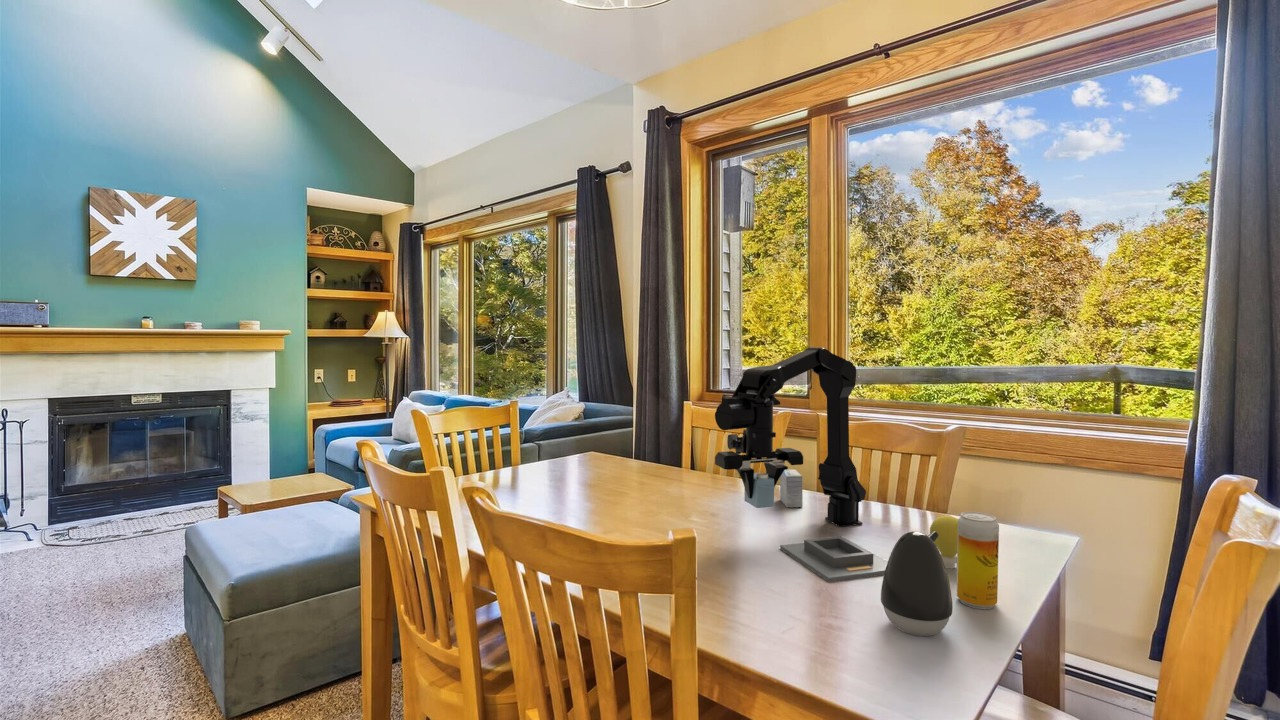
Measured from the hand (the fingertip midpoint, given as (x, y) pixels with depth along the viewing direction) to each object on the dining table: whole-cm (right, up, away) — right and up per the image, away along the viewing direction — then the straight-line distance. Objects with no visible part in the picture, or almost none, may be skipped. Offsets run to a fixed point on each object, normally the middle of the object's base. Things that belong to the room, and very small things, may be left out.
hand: (758, 497), depth 131 cm
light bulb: (+35, -11, -12) cm, 39 cm away
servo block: (0, -1, 0) cm, 1 cm away
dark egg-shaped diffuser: (+17, -12, -37) cm, 43 cm away
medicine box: (+15, -9, +32) cm, 36 cm away
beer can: (+32, -12, -28) cm, 44 cm away
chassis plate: (+14, -11, -9) cm, 20 cm away
